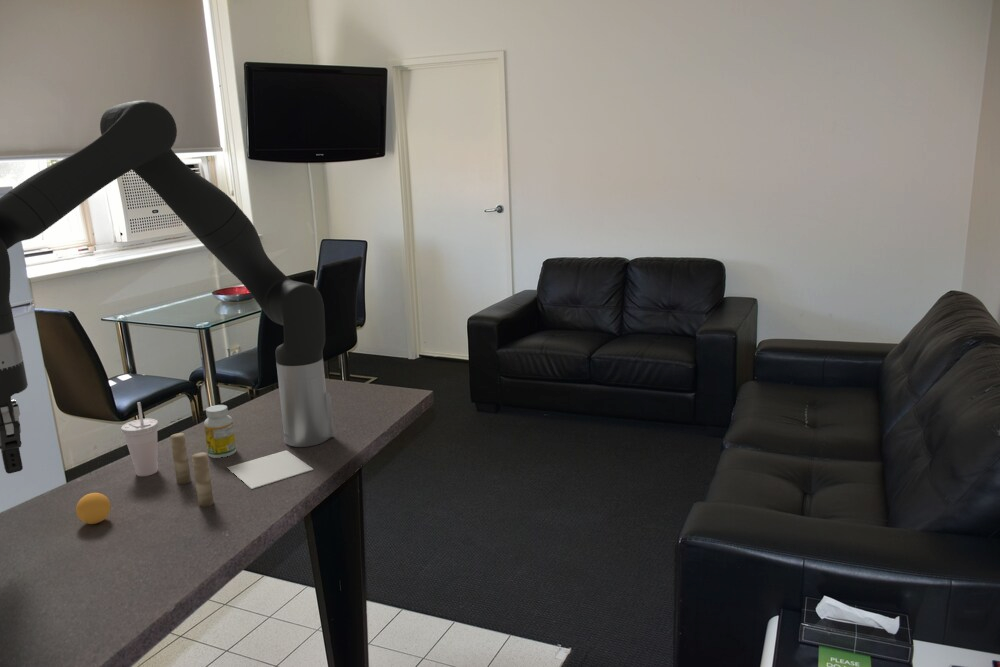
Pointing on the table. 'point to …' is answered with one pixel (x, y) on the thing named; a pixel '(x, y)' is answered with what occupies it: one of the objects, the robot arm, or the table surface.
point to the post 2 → (202, 479)
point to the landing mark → (269, 469)
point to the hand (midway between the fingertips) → (14, 470)
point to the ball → (93, 508)
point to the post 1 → (180, 458)
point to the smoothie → (142, 443)
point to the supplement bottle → (219, 432)
